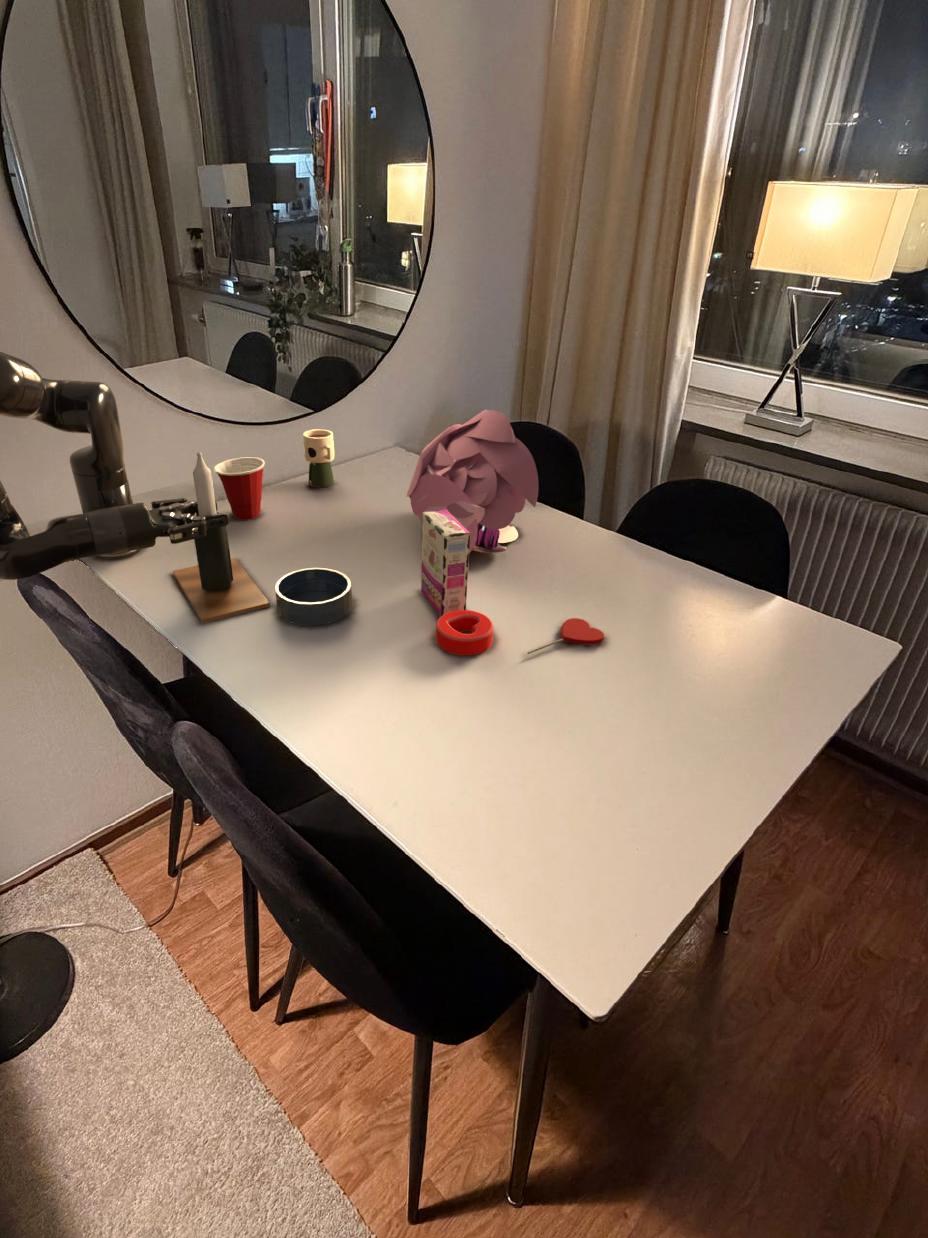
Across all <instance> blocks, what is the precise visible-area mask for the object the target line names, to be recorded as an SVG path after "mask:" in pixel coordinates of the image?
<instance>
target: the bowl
mask: <svg viewBox="0 0 928 1238" xmlns="http://www.w3.org/2000/svg"><path fill="white" fill-rule="evenodd" d="M274 591H275V600H276V610H277V613H278V615H279V617H281V618H282V619H284V620H285V621H287V622H289V623H291V624H295V625H299V626H311V627H312V626H321V625H322V626H323V625H327V624H331V623H334V622H337V621H338V620H341V619H342V618H345V617H346V616H347V615H348V614H349V613H350V612H351V609H352V607H353V592H352V591H353V589H352V582H351V579H350V578H349V577H348V575H346V573H343V572H341V571H339V570H337V569H336V570H335V569H331V568H327V567H308V568H302V569H298V570H294V571H290V572H289V573H287V574H284V575H283V576H282V577H280V578H279V579H278V580H277V581H276V583H275V585H274Z"/></svg>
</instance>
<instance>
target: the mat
mask: <svg viewBox="0 0 928 1238" xmlns="http://www.w3.org/2000/svg"><path fill="white" fill-rule="evenodd" d="M231 565H232V573H233V581H232V582H231V585H230V586H231V587H230V588H229V589H228V590H203V589H202V586H201V580H200V573H199V567H198V565H195V566H190V567H185V568H180V569H175V570H172V575H173V577H174V578H175V581H176V582H177V583H178V585H179V588H181V590H182V592H183V593H184V595H185V597H186V598H187V600H188V602H189V603H190V605H191V607H192V608H193V610H194V612H195V614H196V615H197V617H198V619H199V620H200V622H201V623H202V624H205V623H209V622H214V621H217V620H220V619H224V618H229V617H233V616H237V615H240V614H241V615H242V614H245V613H249V612H253V611H257V610H261V609H264V608H269V607H271V606H270V605H271V604H270V601H269V600H268V599H267V598H266V596H265V595H264V594H263V593H262V591H261V590H260V588H259V587H258V586H257V585H256V583H255V582H254V581H253V580H252V578H251V577H250V575H249V574H248V573H247V571H245V569H244V567H242V565H241V564H240V563H239V562H238V560H237V559H236V557H232V558H231Z"/></svg>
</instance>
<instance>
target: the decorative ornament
mask: <svg viewBox="0 0 928 1238" xmlns="http://www.w3.org/2000/svg"><path fill="white" fill-rule="evenodd" d="M435 627H436V628H435V631H436V632H435V642H436V644H437V646H439V647H440V648H441V649H442V650H443V651H446V652H447V653H450V654H452V655H453V654H454V655H457V656H474V655H478V654H482V653H484V652H486V651H487V650H489V649H490V647H492V644H493V637H494V623H493V621H492V620H491V619H490V618H489V617H488V616H487V615H486V614H484V613H481V612H479V611H475V610H470V609H466V610H457V611H451V612H448V613H446V614H444V615H443V616H441V617H440V616H439V618H438V619H437V620H436V626H435ZM462 632H471V633H462Z"/></svg>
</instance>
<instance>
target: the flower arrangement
mask: <svg viewBox="0 0 928 1238" xmlns="http://www.w3.org/2000/svg"><path fill="white" fill-rule="evenodd" d="M405 497H406V498H408V497H409V500H410V507H411V511H412V512H413V514H414V515H415V516H416V517H417V518H418V519H419V520H420V521H421V522H422V523H423V514H422V513H423V512H430V511H437V510H447V511H448V512H449V513H450V514H451V515H452V516H453V517H454V518H455V519H456V520H457V521H458V522H459V523H460V524H461V525H462V526H463V527H464V528H465V529H466V530H467V531H469V532H470V548H469V554H471V552H472V551H474V552H479V553H489V554H492V553H494V554H495V553H504V552H506V551H507V547H506V546H502V545H501V544H504V543H505V544H506V543H511V542H513V541H515V540H516V539H518V538H519V533H518V530H517V529H516V528H515V526H514V525H513V526H510V524H511V523H512V522H513V520H514V519H515V516H516V514H519V513H522V511H524V508H525V506H526V502H528V503H529V504H530V505H531V506H532V507H533V508H536V505H537V503H538V497H539V474H538V469H537V465H536V462H535V460H534V457H533V455H532V453H531V451H530V450H529V448H528V447H527V446H526V445H525V444H524V443H523V442H522V441H521V440H520V439H519V438H517V437H516V436H515V433H514V430H513V427H512V425H511V422H510V420H509V419H508V417H507V416H506V415H505V414H504V413H502V412H501V411H499V410H495V409H493V410H492V409H490V410H489V409H484V410H482V411H481V412H479V413H478V414H476V415H475V416H473V417H471V418H470V419H469V420H467V421H466V422H464V423H463V424H457V423H456V424H452V425H450V426H449V427H447V428H445V429H444V430H443V431H442V432H441V433H439V434H438V435H437V436H436V437H435V438H434V439H432V441H431V442H430V443H428V444H427V445H426V446H425V447H424V448H423V450H422V451H421V453H420V455H419V457H418V460H417V463H416V465H415V468H414V471H413V475H412V477H411V481H410V484H409V487H408V490H407V492H406V496H405Z"/></svg>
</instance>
